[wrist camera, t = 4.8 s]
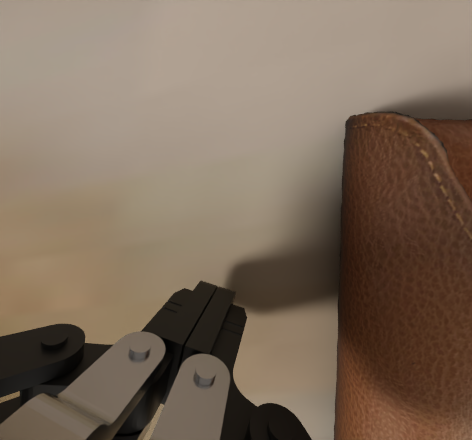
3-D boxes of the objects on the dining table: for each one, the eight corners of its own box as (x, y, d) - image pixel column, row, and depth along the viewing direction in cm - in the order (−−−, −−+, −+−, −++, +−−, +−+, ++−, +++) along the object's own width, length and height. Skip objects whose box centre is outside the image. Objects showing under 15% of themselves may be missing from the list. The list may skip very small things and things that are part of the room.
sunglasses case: (540, 545, 11) (590, 853, 6) (363, 436, 16) (313, 563, 11) (661, 86, 7) (1041, -41, 2) (378, 125, 12) (312, 109, 7)
